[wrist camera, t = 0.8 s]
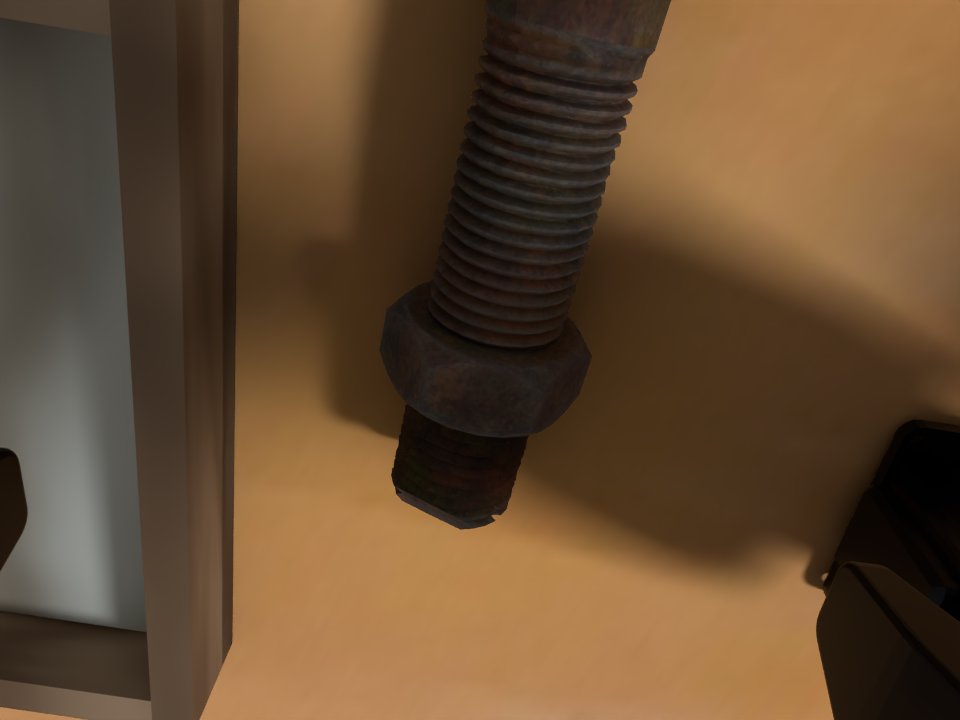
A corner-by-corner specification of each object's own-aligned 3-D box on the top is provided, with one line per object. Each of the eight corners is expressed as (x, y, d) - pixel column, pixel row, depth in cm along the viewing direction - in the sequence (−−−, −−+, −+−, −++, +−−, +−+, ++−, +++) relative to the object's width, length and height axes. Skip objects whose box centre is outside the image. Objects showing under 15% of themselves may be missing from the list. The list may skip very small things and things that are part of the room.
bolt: (435, 413, 24) (568, -152, 17) (576, 494, 22) (796, -106, 15) (301, 498, 19) (404, -232, 12) (464, 610, 17) (703, -180, 10)
